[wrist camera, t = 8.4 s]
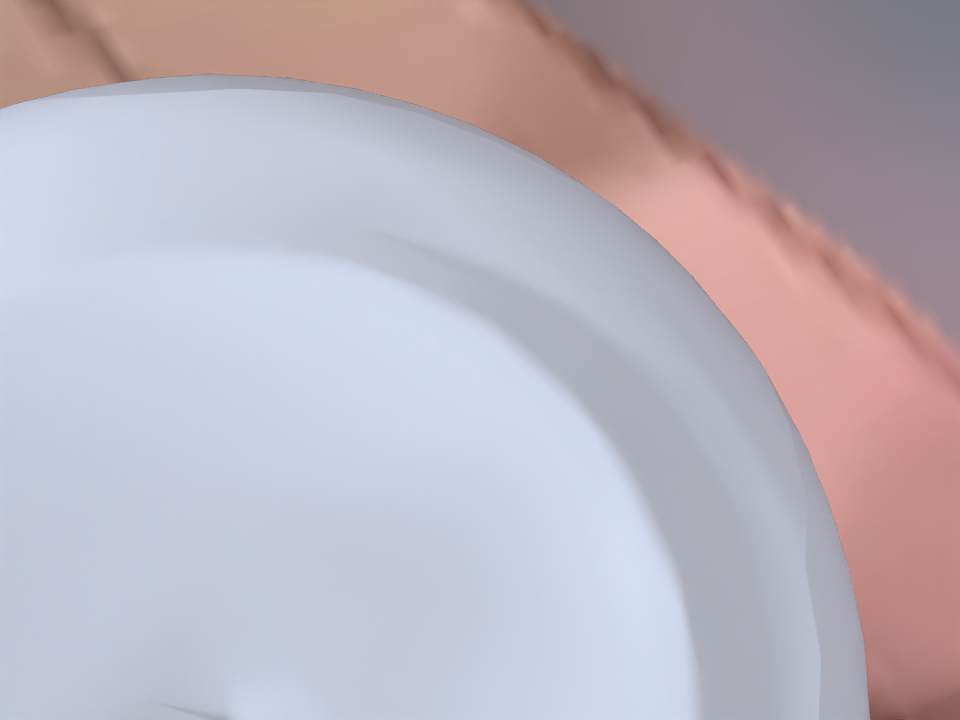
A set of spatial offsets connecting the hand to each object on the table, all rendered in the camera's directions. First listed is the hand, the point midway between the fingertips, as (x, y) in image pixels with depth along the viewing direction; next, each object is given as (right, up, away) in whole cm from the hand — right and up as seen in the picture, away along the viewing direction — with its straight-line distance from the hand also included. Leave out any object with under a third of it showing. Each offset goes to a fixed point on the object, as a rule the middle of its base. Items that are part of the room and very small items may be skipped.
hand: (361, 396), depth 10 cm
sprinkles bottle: (-1, -3, +6) cm, 7 cm away
